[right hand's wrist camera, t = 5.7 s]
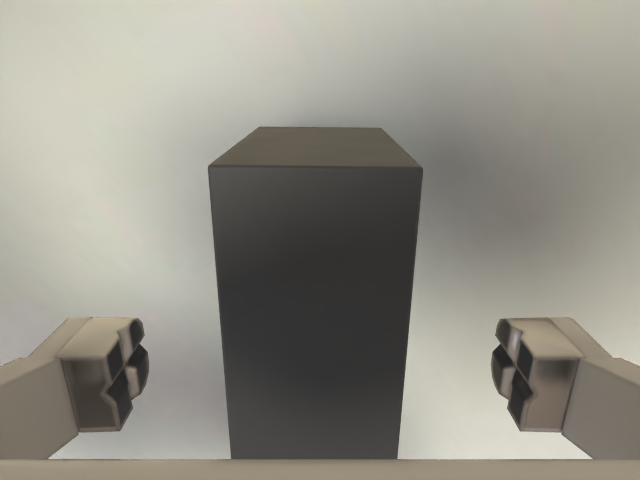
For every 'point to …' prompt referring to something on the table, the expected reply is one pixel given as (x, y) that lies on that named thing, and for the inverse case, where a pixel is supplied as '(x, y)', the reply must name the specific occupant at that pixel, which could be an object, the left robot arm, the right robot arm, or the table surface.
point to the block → (315, 289)
